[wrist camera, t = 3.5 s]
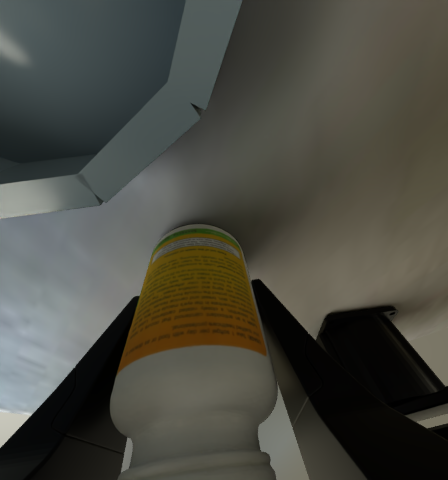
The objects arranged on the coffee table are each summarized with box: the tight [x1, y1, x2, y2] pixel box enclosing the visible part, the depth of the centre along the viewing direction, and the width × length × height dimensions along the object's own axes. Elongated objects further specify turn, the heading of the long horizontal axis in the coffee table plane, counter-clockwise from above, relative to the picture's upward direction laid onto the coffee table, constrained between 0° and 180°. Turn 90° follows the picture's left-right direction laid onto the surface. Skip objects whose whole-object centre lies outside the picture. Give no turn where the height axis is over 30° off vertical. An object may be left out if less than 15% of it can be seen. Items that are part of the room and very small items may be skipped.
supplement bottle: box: [110, 224, 278, 480], centre depth 8 cm, size 5×5×10 cm
